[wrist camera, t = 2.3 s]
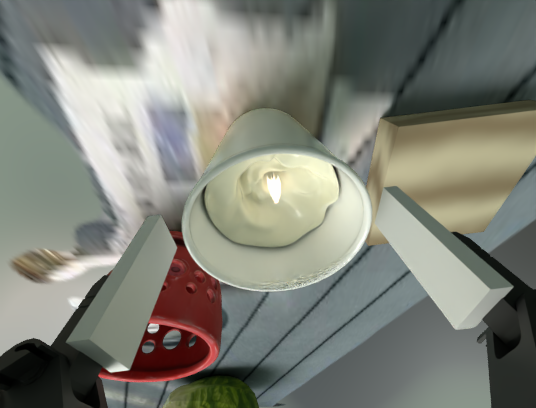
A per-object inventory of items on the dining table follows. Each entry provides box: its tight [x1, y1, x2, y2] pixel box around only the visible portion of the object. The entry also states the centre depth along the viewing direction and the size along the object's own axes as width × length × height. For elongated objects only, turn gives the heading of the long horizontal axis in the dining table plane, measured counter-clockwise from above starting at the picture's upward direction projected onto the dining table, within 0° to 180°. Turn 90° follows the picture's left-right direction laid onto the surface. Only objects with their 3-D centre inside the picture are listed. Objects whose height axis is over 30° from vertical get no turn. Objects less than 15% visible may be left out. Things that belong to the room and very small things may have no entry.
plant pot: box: [98, 231, 222, 382], centre depth 23 cm, size 13×13×12 cm
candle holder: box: [182, 108, 372, 291], centre depth 16 cm, size 10×10×12 cm
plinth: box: [365, 100, 536, 246], centre depth 22 cm, size 14×14×3 cm
